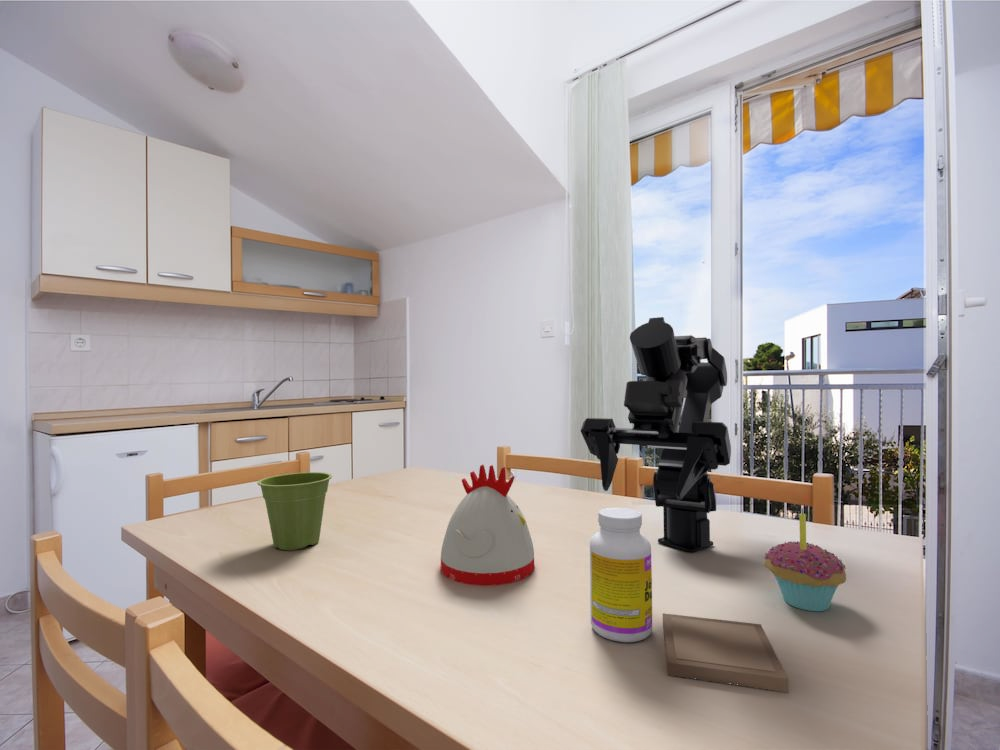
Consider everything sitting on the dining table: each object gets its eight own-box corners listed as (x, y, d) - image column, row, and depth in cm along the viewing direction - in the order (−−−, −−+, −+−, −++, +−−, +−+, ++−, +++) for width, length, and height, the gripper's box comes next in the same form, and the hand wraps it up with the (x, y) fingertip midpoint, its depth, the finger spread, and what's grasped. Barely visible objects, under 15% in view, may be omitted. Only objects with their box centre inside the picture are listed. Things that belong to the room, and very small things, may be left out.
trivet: (662, 624, 56) (662, 612, 56) (761, 635, 53) (760, 623, 53) (667, 675, 46) (667, 661, 46) (788, 692, 43) (788, 678, 43)
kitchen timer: (517, 591, 65) (516, 477, 65) (424, 578, 69) (422, 471, 69) (544, 555, 78) (543, 459, 78) (464, 545, 82) (463, 455, 82)
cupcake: (849, 626, 55) (847, 517, 55) (762, 608, 59) (761, 507, 59) (844, 597, 62) (842, 501, 62) (767, 582, 66) (766, 493, 67)
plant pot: (323, 529, 93) (322, 469, 93) (340, 546, 83) (340, 479, 83) (253, 541, 86) (252, 476, 86) (263, 561, 76) (262, 488, 76)
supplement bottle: (655, 648, 51) (654, 522, 51) (590, 642, 52) (588, 519, 52) (649, 617, 57) (648, 506, 57) (591, 612, 59) (590, 503, 59)
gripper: (584, 361, 71) (551, 447, 62) (726, 357, 61) (712, 459, 52) (604, 413, 78) (577, 498, 68) (735, 416, 68) (724, 517, 58)
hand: (640, 493), depth 61 cm, fingers open, 9 cm apart
